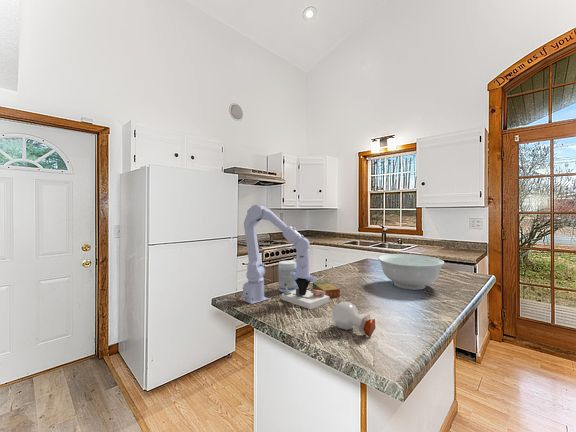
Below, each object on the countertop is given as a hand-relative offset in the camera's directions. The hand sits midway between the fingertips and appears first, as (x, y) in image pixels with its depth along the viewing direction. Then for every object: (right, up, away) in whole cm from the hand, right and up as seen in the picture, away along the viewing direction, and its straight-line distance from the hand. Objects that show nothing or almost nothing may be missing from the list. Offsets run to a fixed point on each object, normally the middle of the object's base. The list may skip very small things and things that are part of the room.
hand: (303, 295), depth 128 cm
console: (+1, -3, +3) cm, 4 cm away
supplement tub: (-7, -3, +19) cm, 20 cm away
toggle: (-7, 0, +5) cm, 8 cm away
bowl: (+58, -2, +25) cm, 64 cm away
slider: (-2, -1, +2) cm, 2 cm away
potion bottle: (+16, -5, -29) cm, 33 cm away
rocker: (+7, +1, +1) cm, 7 cm away
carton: (+12, -3, +14) cm, 19 cm away
